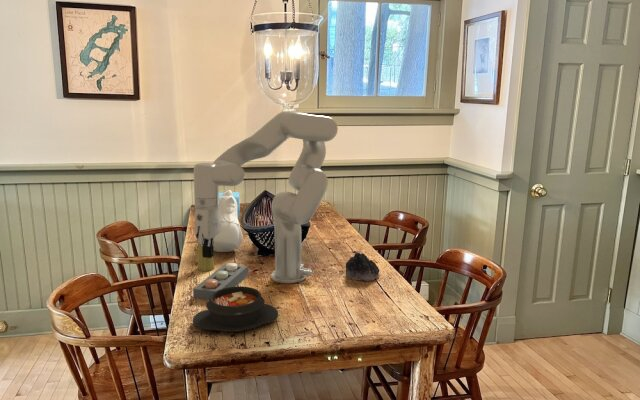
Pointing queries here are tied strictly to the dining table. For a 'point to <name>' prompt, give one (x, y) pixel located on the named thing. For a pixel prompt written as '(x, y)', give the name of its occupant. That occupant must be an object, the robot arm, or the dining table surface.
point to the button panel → (220, 282)
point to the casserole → (235, 310)
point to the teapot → (236, 196)
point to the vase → (204, 261)
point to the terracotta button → (211, 284)
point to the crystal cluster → (361, 268)
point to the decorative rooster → (228, 225)
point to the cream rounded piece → (231, 267)
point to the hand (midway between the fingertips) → (208, 256)
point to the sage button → (222, 275)
